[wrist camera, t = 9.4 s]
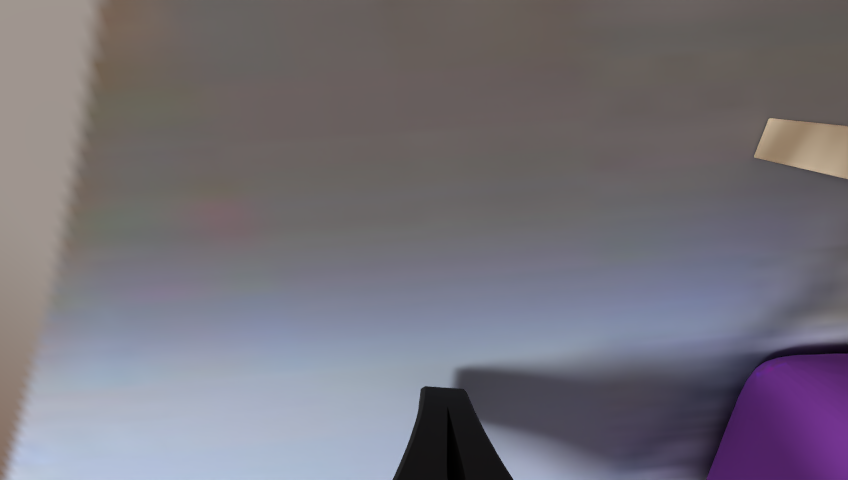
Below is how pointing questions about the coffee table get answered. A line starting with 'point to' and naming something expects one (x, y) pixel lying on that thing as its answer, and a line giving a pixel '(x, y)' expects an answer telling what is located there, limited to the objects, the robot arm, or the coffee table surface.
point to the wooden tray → (806, 146)
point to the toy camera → (789, 422)
